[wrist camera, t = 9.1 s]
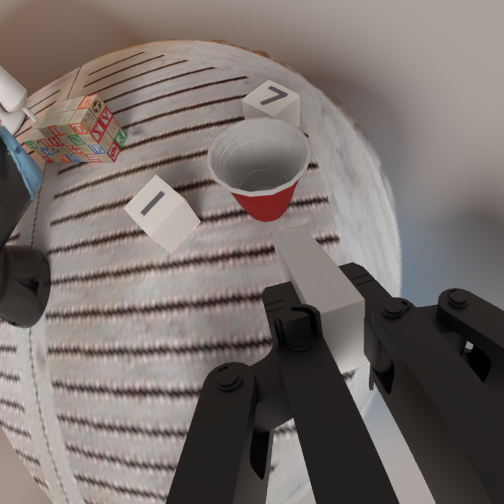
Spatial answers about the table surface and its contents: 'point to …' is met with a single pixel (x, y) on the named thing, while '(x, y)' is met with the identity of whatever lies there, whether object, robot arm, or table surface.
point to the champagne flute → (13, 94)
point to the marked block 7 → (273, 103)
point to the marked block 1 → (162, 214)
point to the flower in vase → (12, 120)
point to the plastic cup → (260, 164)
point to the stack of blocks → (77, 132)
